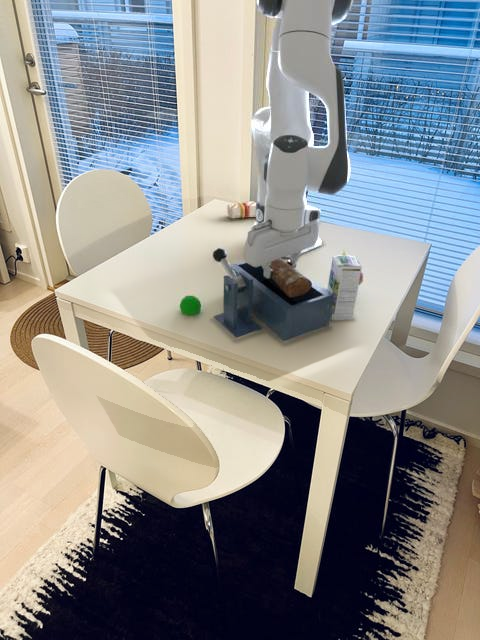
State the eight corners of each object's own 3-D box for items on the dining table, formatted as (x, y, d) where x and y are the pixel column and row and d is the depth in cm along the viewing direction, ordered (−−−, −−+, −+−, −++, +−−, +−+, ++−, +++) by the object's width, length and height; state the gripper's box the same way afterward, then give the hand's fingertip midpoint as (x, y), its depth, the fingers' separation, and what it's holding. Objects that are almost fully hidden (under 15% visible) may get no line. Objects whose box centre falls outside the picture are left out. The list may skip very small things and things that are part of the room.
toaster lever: (209, 256, 116) (211, 246, 114) (221, 253, 118) (224, 243, 115) (233, 295, 111) (236, 286, 109) (245, 292, 113) (249, 283, 110)
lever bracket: (213, 320, 119) (213, 272, 112) (238, 312, 122) (239, 264, 115) (236, 341, 112) (237, 291, 105) (261, 332, 115) (264, 283, 108)
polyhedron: (193, 306, 124) (192, 289, 121) (205, 315, 121) (204, 297, 118) (176, 313, 121) (175, 296, 119) (188, 322, 118) (187, 304, 116)
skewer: (231, 221, 171) (232, 207, 168) (226, 215, 176) (226, 201, 173) (288, 215, 177) (289, 201, 174) (280, 209, 182) (281, 195, 179)
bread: (286, 303, 110) (289, 280, 107) (252, 264, 124) (254, 243, 121) (311, 299, 112) (315, 277, 109) (275, 261, 127) (277, 240, 124)
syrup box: (323, 308, 125) (330, 255, 117) (347, 307, 125) (355, 254, 117) (329, 321, 120) (336, 266, 112) (353, 320, 120) (362, 265, 113)
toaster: (269, 284, 134) (271, 254, 129) (329, 328, 117) (333, 294, 113) (228, 297, 128) (228, 265, 123) (284, 344, 111) (287, 310, 107)
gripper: (259, 231, 102) (255, 291, 109) (326, 210, 113) (319, 265, 121) (238, 222, 106) (237, 280, 113) (305, 202, 117) (300, 256, 125)
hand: (280, 272), depth 117 cm, fingers closed on bread, 6 cm apart
